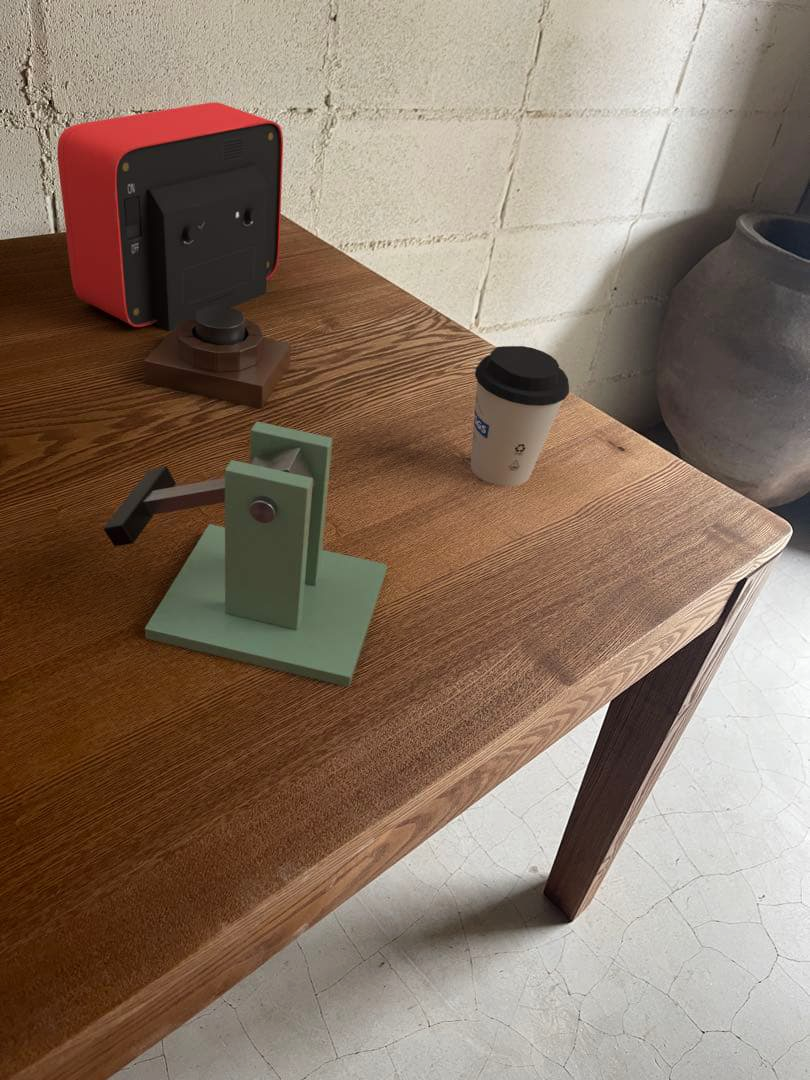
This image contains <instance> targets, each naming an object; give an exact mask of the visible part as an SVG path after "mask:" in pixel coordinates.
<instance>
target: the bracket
mask: <svg viewBox="0 0 810 1080" xmlns="http://www.w3.org/2000/svg"><path fill="white" fill-rule="evenodd" d="M333 440H334V439H333V437H330V436H326V435H322V434H316V433H312V432H307V431H303V430H298V429H294V428H289V427H285V426H280V425H275V424H271V423H266V422H262V421H255V423H254V424H253V425H252V427H251V429H250V442H249V443H250V445H249V463H247V462H243V461H240V460H239V461H238V460H234V459H231V460H230V461H229V463H228V464H227V466H226V467H225V469H224V478H225V503H224V526H220V525H216V524H212V523H208V525H207V527H206V529H205V530H204V531H203V533H202V535H201V536H200V538H199V540H198V541H197V543H196V544H195V546H194V548H193V549H192V551H191V553H190V554H189V556H188V557H187V559H186V561H185V562H184V564H183V565H182V567H181V569H180V570H179V572H178V574H177V575H176V577H175V578H174V580H173V581H172V583H171V585H170V586H169V588H168V590H167V591H166V593H165V595H164V597H163V598H162V599H161V601H160V602H159V604H158V606H157V608H156V609H155V611H154V613H153V614H152V616H151V617H150V619H149V621H148V622H147V624H146V625H145V627H144V634H145V635H144V636H145V639H147V640H150V641H155V642H159V643H163V644H168V645H172V646H175V647H180V648H183V649H188V650H191V651H192V650H193V651H197V652H201V653H205V654H209V655H213V656H218V657H221V658H225V659H230V660H233V661H238V662H242V663H247V664H251V665H254V666H259V667H263V668H267V669H272V670H276V671H280V672H284V673H288V674H291V675H297V676H300V677H305V678H309V679H313V680H318V681H322V682H327V683H331V684H333V685H338V686H343V687H347V688H350V687H351V683H352V680H353V677H354V674H355V671H356V668H357V664H358V661H359V659H360V655H361V653H362V649H363V647H364V644H365V641H366V637H367V633H368V631H369V628H370V625H371V622H372V620H373V619H372V618H373V615H374V612H375V609H376V607H377V603H378V599H379V598H380V594H381V590H382V588H383V584H384V581H385V578H386V575H387V570H388V564H386V563H382V562H378V561H374V560H369V559H365V558H360V557H356V556H351V555H348V554H343V553H340V552H339V553H338V552H334V551H331V550H326V549H325V550H324V549H323V546H324V536H325V525H326V515H327V505H328V494H329V482H330V471H331V462H332V461H331V460H332V452H333V451H332V449H333V442H334V441H333ZM294 448H300V449H301V451H302V454H303V456H304V458H305V460H306V463H307V465H308V467H309V470H310V472H311V474H312V476H313V478H310V477H306V476H301V475H297V474H293V473H288V472H284V471H279V470H275V469H270V468H266V467H261V466H257V465H252V464H250V463H251V462H252V460H253V459H254V457H255V456H258V455H263V454H268V453H273V452H279V451H284V450H289V449H294ZM313 479H314V481H315V485H314V487H313V489H312V484H313Z"/></svg>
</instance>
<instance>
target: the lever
mask: <svg viewBox="0 0 810 1080" xmlns="http://www.w3.org/2000/svg"><path fill="white" fill-rule="evenodd" d="M249 464H252V465H257V466H261V467H266V468H270V469H275V470H279V471H284V472H288V473H293V474H297V475H301V476H306V477H310V478H313V476H312V474H311V472H310V470H309V467H308V465H307V463H306V460H305V458H304V456H303V454H302V451H301V449H300V448H294V449H289V450H284V451H279V452H273V453H268V454H263V455H258V456H255V457H254V459H253V460H252V462H251V463H250V462H249ZM176 484H177V482H176V481H175V479H174V477H173V475H172V474H171V471H170V470H169V468H168V466H166V465H165V466H159V467H154V468H149V469H148V470H147V471H146V472H145V474H143V476H142V477H141V479H139V481H138V483H137V484H136V485H135V486H134V488H133V489H132V490H131V491H130V493H129V494H128V495H127V497H126V498H125V500H124V501H123V502H122V503H121V504H120V506H119V507H118V509H116V511H115V512H114V513H113V515H112V516H111V517H110V518H109V520H108V522H107V523H106V524H105V525H104V526H103V531H104V532H105V534H106V535H107V537H108V538H109V540H110V542H111V543H112V545H113V547H120V546H126V545H132V544H133V545H134V543H135V542H136V540H137V539H138V538H139V536H140V535H141V534H142V532H143V531H144V529H145V528H146V526H147V525H148V524H149V523H150V521H151V520H152V518H153V517H154V516H155V515H160V514H167V513H172V512H179V511H184V510H189V509H195V508H196V509H197V508H201V507H207V506H213V505H218V504H225V477H221V478H215V479H210V480H204V481H199V482H194V483H187V484H182V485H176ZM314 485H315V481H314V479H313V484H312V489H313V487H314Z"/></svg>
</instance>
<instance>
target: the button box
mask: <svg viewBox="0 0 810 1080" xmlns="http://www.w3.org/2000/svg"><path fill="white" fill-rule="evenodd" d="M291 355H292V343H290V342H286V341H282V340H277V339H272V338H271V339H270V338H267V337H264V334H263V331H262V329H261V327H260V325H259V324H257V323H255V322H253V321H251V320H250V319H248V318H246V317H245V338H244V340H243V341H242V342H239V343H237V344H234V345H218V346H217V345H213V344H208V343H203V342H202V341H200V340H199V339H197V338H196V334H195V316H194V317H191V318H187V319H185V320H184V321H183V320H182V321H181V322H180V323H179V324H178V325H177V326H176V327H175V328H174V329H173V330H171V331H169V333H168V334H167V335H166V337H164V338H163V339H162V341H160V342H159V344H158V345H157V346H156V347H155V348H154V349H153V350H152V351H151V352H150V353H149V355H148V356H146V358H145V359H144V360H143V368H144V380H145V381H144V383H145V385H150V386H155V387H160V388H163V389H164V388H165V389H167V390H168V389H169V390H173V391H177V392H182V393H187V394H191V395H196V396H200V397H205V398H209V399H214V400H218V401H223V402H228V403H233V404H238V405H241V406H246V407H251V408H254V409H255V408H256V409H259V410H262V409H263V408H264V407H265V405H266V403H268V401H269V399H270V397H271V396H272V395H273V392H274V391H275V390H276V388H277V386H279V383H280V382H281V380H282V379H283V377H284V376H285V374H286V373H287V371H288V370H289V368H290V366H291Z"/></svg>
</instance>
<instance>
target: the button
mask: <svg viewBox="0 0 810 1080" xmlns="http://www.w3.org/2000/svg"><path fill="white" fill-rule="evenodd" d="M245 318H246V316H245V315H244V314H243V313H242V312H241V311H240V310H238V309H236V308H233V307H230V308H229V307H223V306H212V307H206V308H203V309H201V310H199V311H198V312H197V313H196V315H195V334H196V338H197V339H199V340H200V341H202V342H203V343H208V344H213V345H217V346H218V345H234V344H237V343H239V342H242V341H243V340H244V338H245Z"/></svg>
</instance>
